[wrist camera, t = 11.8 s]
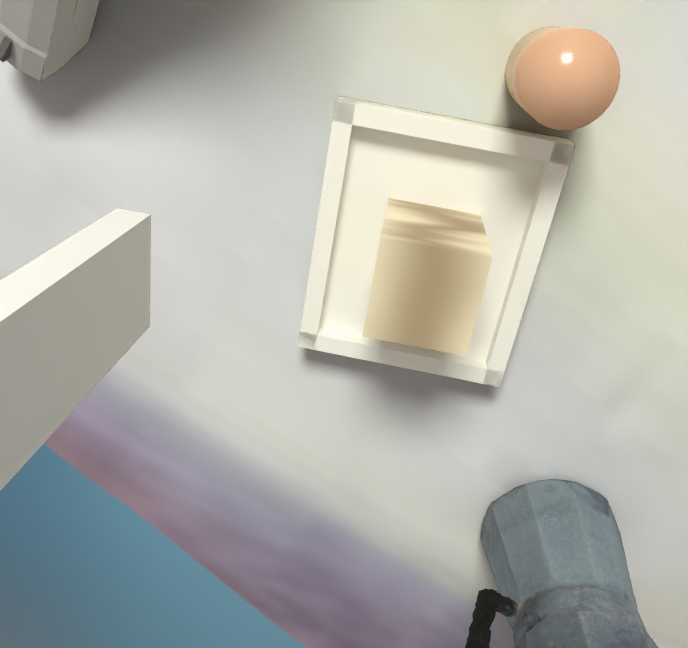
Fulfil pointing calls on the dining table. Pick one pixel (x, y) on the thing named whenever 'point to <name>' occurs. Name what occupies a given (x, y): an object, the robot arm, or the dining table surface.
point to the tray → (435, 190)
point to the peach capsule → (563, 76)
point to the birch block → (428, 277)
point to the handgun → (44, 33)
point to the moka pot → (557, 571)
